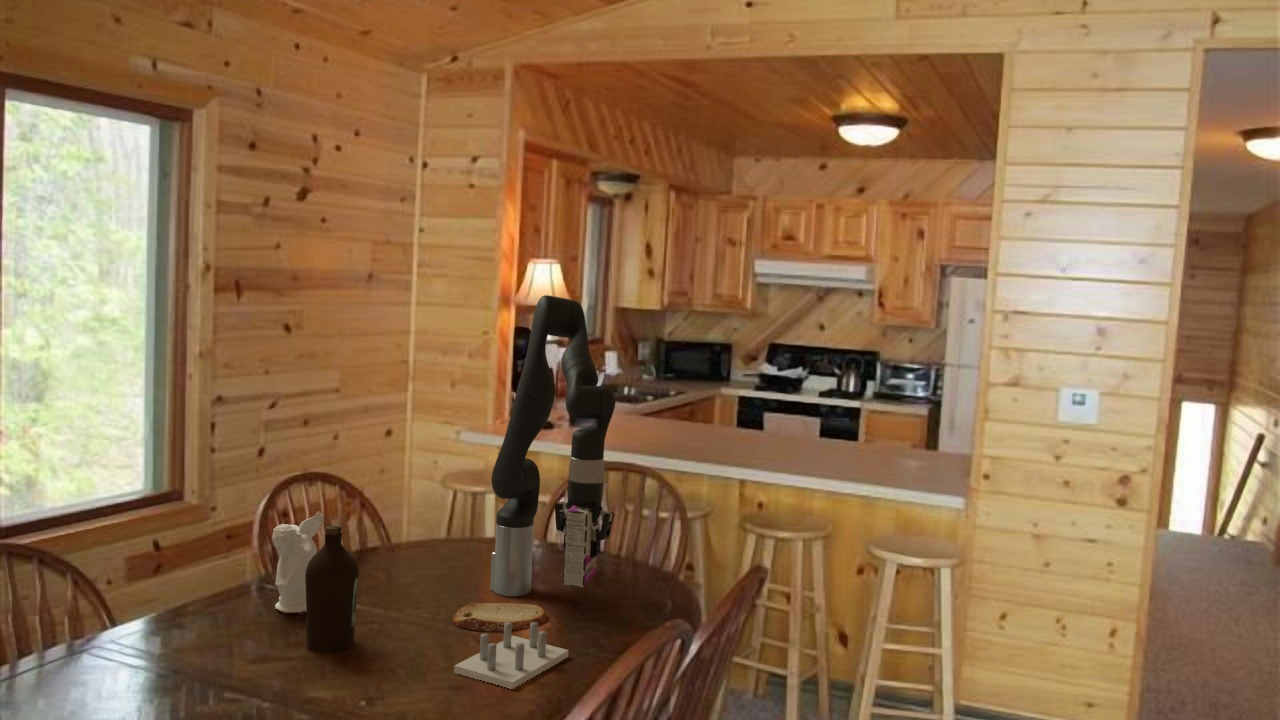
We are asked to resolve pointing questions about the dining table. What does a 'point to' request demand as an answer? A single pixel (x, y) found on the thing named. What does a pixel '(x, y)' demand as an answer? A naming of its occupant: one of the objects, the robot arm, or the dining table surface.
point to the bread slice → (497, 616)
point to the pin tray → (511, 658)
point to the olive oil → (331, 595)
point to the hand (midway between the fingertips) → (581, 554)
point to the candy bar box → (578, 547)
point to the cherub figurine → (294, 561)
